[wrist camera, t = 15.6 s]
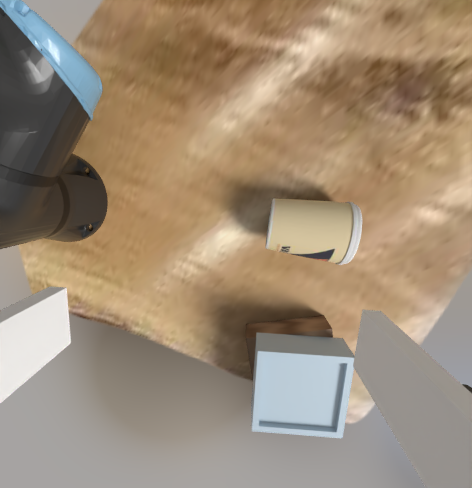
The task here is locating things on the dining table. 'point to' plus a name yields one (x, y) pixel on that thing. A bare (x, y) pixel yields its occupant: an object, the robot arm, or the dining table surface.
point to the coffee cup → (315, 229)
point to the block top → (301, 385)
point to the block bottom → (286, 331)
